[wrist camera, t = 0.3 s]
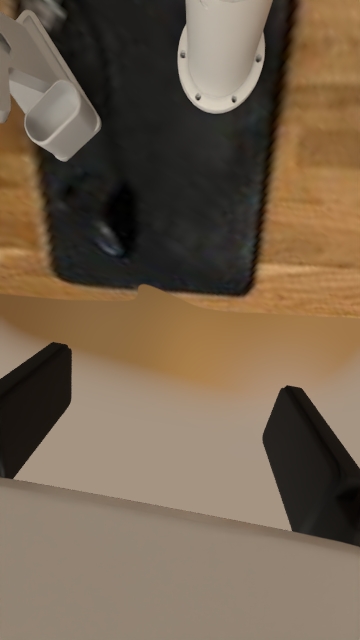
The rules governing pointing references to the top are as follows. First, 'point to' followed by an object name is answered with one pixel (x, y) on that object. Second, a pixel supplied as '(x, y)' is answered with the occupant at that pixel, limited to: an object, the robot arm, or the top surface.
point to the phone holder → (43, 88)
